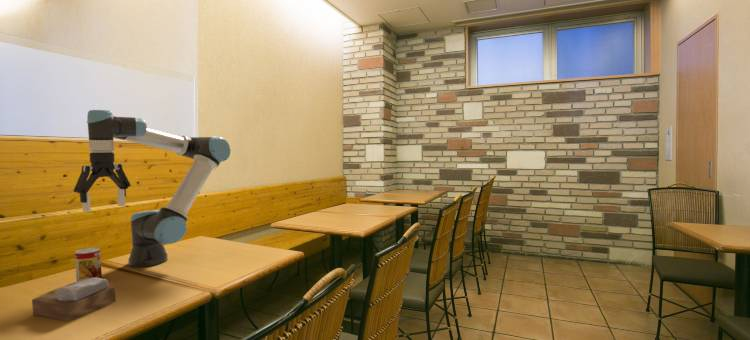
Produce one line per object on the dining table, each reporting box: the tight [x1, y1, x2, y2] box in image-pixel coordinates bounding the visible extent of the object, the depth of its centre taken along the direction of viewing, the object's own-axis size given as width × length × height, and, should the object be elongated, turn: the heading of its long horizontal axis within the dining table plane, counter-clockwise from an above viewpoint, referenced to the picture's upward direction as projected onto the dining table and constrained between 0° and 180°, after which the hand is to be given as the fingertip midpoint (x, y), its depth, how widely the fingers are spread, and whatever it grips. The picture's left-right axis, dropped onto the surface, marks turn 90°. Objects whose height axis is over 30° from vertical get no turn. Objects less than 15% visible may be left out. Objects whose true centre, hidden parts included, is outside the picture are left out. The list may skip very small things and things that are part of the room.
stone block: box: [54, 277, 109, 301], centre depth 122 cm, size 12×5×10 cm
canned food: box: [74, 247, 103, 282], centre depth 148 cm, size 8×8×12 cm
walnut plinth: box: [31, 285, 116, 322], centre depth 123 cm, size 15×15×5 cm
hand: (105, 208), depth 143 cm, fingers open, 13 cm apart
